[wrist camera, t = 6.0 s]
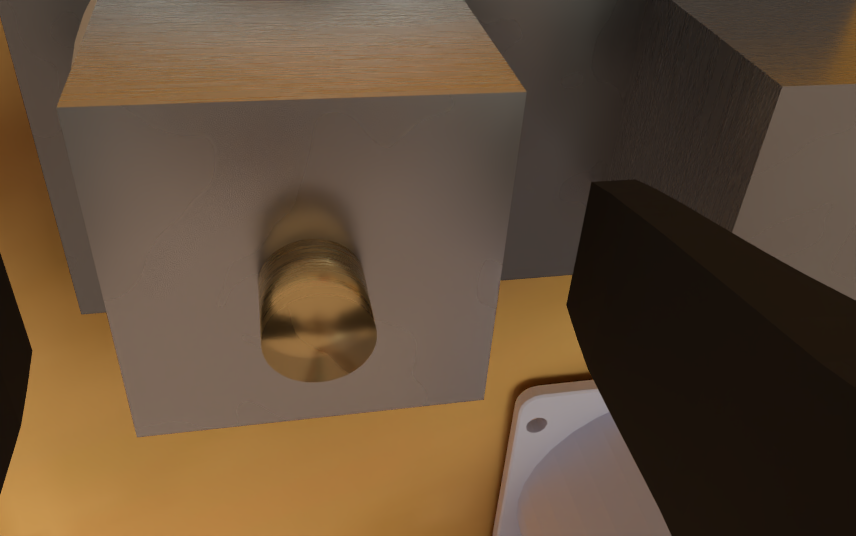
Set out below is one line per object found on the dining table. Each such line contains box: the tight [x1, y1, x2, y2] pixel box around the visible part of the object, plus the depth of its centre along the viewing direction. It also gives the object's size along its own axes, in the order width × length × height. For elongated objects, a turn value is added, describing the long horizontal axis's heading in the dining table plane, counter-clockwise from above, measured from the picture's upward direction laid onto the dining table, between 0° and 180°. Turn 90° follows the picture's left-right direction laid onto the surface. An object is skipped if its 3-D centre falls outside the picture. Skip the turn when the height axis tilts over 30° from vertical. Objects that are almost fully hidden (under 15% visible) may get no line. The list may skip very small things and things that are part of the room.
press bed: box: [0, 0, 856, 314], centre depth 12 cm, size 8×14×4 cm, turn 87°
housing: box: [56, 0, 527, 437], centre depth 11 cm, size 4×4×6 cm
